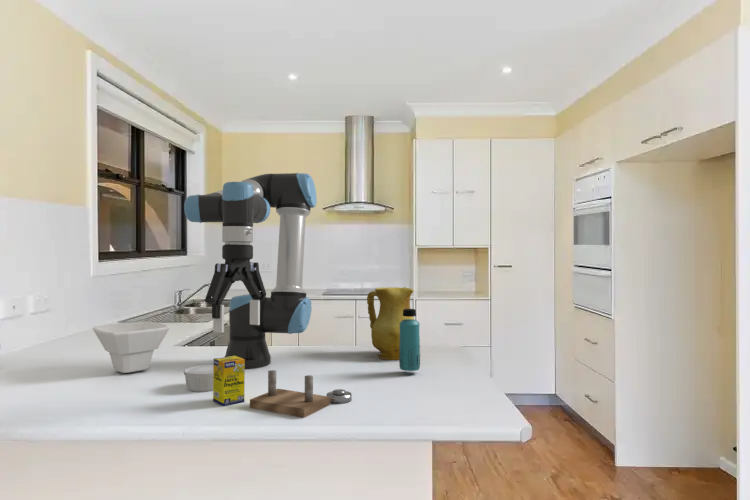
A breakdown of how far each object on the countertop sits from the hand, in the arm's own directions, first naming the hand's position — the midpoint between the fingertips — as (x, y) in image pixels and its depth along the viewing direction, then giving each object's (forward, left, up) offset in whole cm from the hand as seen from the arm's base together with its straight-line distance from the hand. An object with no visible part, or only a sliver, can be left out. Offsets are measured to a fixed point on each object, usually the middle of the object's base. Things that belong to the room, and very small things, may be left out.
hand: (237, 328), depth 132 cm
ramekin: (-17, +6, -19) cm, 26 cm away
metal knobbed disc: (+22, +13, -19) cm, 32 cm away
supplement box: (-2, -1, -19) cm, 19 cm away
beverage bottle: (+27, +47, -19) cm, 58 cm away
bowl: (-51, +9, -19) cm, 55 cm away
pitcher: (+12, +68, -19) cm, 72 cm away
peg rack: (+14, +3, -19) cm, 23 cm away
